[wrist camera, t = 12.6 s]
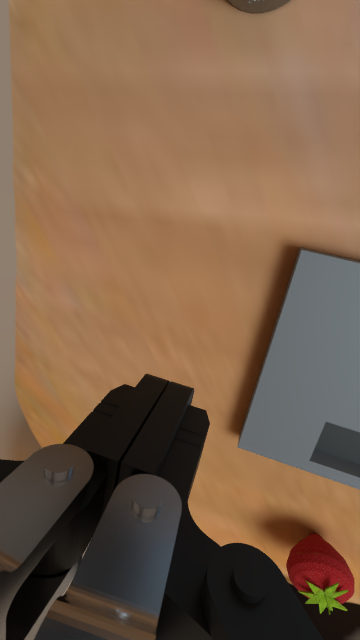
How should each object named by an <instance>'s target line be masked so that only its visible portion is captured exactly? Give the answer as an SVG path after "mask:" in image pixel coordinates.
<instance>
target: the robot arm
mask: <svg viewBox="0 0 360 640" xmlns="http://www.w3.org/2000/svg"><path fill="white" fill-rule="evenodd" d="M228 1H229V2H230V3H231V4H232V5H233V6H235V7H236V8H238V9H240V10H242V11H246V12H250V13H264V12H268V11H272V10H275V9H277V8H279V7H281V6H283V5H284V4H286V3H288V2H289V1H290V0H228ZM193 394H194V388H191V387H188V386H184V385H181V384H178V383H175V382H172V381H171V382H170V381H168V380H165V379H162V378H159V377H156V376H152V375H149V374H145V375H144V377H143V378H142V379H141V381H140V382H139V383H138V384H137V386H136V387H132V386H129V385H126V384H124V385H122V386H120V387H117V388H115V389H113V390H111V391H110V392H109V393H108V394H107V395H106V396H105V397H104V399H103V400H102V401H101V403H99V404H98V405H97V406H96V407H95V409H94V411H93V412H91V413H90V414H89V415H88V416H87V417H86V419H85V420H84V421H83V422H82V423H81V424H80V425H79V426H78V427H77V429H76V430H75V431H74V432H73V433H72V434H71V435H70V436H69V438H68V439H67V440H66V441H65V442H64V443H63V444H55V445H50V446H46V447H44V448H42V449H40V450H38V451H36V452H35V453H33V454H32V455H31V456H30V457H29V458H28V459H26V460H25V461H13V460H12V461H11V460H1V459H0V640H323V639H322V637H321V636H320V634H319V633H318V631H317V629H316V628H315V626H314V625H313V623H312V621H311V619H310V618H309V616H308V615H307V613H306V611H305V610H304V608H303V606H302V605H301V603H300V602H299V600H298V598H297V597H296V595H295V593H294V592H293V590H292V589H291V587H290V585H289V584H288V582H287V580H286V579H285V577H284V576H283V574H282V572H281V571H280V569H279V568H278V567H277V565H276V564H275V563H274V562H273V561H272V559H270V558H269V557H268V556H267V555H266V554H265V553H263V552H262V551H260V550H259V549H257V548H255V547H253V546H250V545H247V544H243V543H231V544H227V545H224V546H222V547H221V546H219V545H218V544H217V543H216V542H214V541H213V540H212V539H211V538H209V537H208V536H207V535H206V534H205V533H203V532H202V531H201V530H200V528H199V527H198V526H197V525H196V523H195V522H194V520H193V518H192V516H191V514H190V511H189V508H188V498H189V495H190V491H191V488H192V485H193V482H194V478H195V475H196V472H197V468H198V465H199V461H200V458H201V454H202V450H203V447H204V443H205V439H206V436H207V432H208V428H209V425H210V422H209V419H208V415H207V412H206V410H203V409H200V408H197V407H194V406H191V402H192V398H193ZM89 542H90V543H89ZM88 544H89V546H88ZM87 546H88V548H87ZM86 548H87V550H86ZM85 550H86V552H85V554H84V556H83V558H82V555H83V553H84V551H85ZM73 577H74V578H73ZM72 579H73V580H72ZM71 580H72V582H71ZM70 582H71V584H70V586H69V588H68V590H67V591H66V593H65V595H63V596H62V594H63V593H64V591H65V590H66V588H67V587H68V585H69V583H70Z"/></svg>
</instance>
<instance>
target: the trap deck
mask: <svg viewBox="0 0 360 640" xmlns="http://www.w3.org/2000/svg"><path fill="white" fill-rule="evenodd" d="M238 448H241V449H244V450H247V451H250V452H253V453H256V454H259V455H261V456H264V457H267V458H270V459H273V460H276V461H279V462H282V463H285V464H288V465H290V466H293V467H296V468H299V469H302V470H305V471H308V472H311V473H314V474H316V475H319V476H322V477H325V478H328V479H331V480H334V481H337V482H340V483H342V484H345V485H348V486H351V487H354V488H357V489H360V261H358V260H354V259H349V258H345V257H341V256H336V255H332V254H328V253H323V252H319V251H315V250H310V249H306V248H302V247H300V249H299V252H298V255H297V258H296V261H295V264H294V267H293V271H292V274H291V277H290V280H289V283H288V286H287V289H286V292H285V295H284V299H283V302H282V305H281V308H280V311H279V314H278V317H277V320H276V323H275V327H274V330H273V333H272V336H271V339H270V342H269V345H268V348H267V351H266V354H265V358H264V361H263V364H262V367H261V370H260V373H259V376H258V379H257V382H256V386H255V389H254V392H253V395H252V398H251V401H250V404H249V407H248V410H247V414H246V417H245V420H244V423H243V426H242V429H241V432H240V436H239V442H238Z"/></svg>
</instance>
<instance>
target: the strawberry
mask: <svg viewBox="0 0 360 640" xmlns="http://www.w3.org/2000/svg"><path fill="white" fill-rule="evenodd" d="M286 566H287V571H288V575H289V578H290V581H291V582H292V584H293V585H294V586H295V587H296V588H297V589H298V590H299V591H298V592H300V593H302V594H303V595H305V596H306V597H308V598H310V599H309V600H308V601H307V602H306V604H313V603H314V604H318V603H319V607H320V613H321V612H322V611H323V610H324V609H325V608H326V607H328V609H329V614H330V610H331V611H332V610H333V609H332V606H333V607H336V608H339V609H342V610H345V611H347V609H346V608H345V607H343V606H342V605H341V603H344V602H346V601H347V600H349V599H350V598H351V597H352V596H353V594H354V577H353V575H352V573H351V571H350V569H349V567H348V565H347V563H346V561H345V560H344V558H343V557H342V556H341V555H340V554H339V553H338V552H337V551H336V550H335V549H334V548H333V547H332V546H331V545H330V544H329V543H328V542H326V541H325V540H324V539H323V538H322V537H321V536H320V535H318V534H316V533H312V534H310V535H309V536H307V537H306V538H304V539H302V540H301V541H299V542H298V543H297V544H296V545H295V546H294V547H293V548H292V549H291V551H290V554H289V557H288V560H287V564H286Z"/></svg>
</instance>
